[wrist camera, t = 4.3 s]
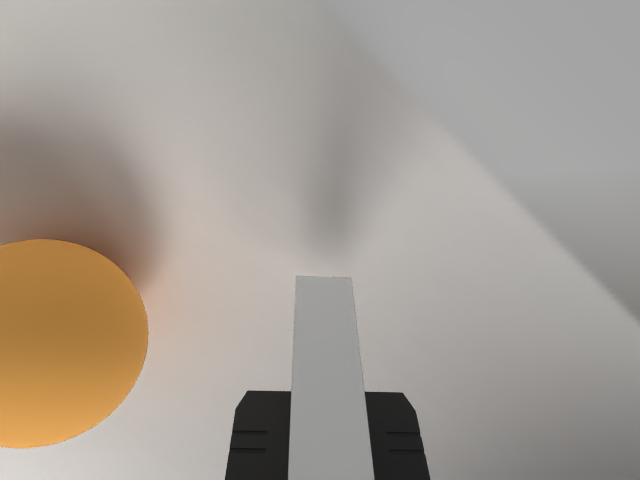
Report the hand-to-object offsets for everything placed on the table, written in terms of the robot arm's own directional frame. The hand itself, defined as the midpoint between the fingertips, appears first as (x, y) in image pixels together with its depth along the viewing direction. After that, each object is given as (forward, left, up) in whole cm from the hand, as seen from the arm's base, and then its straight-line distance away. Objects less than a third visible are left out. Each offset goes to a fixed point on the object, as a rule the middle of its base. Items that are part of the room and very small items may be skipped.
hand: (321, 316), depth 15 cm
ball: (+8, 0, +1) cm, 8 cm away
